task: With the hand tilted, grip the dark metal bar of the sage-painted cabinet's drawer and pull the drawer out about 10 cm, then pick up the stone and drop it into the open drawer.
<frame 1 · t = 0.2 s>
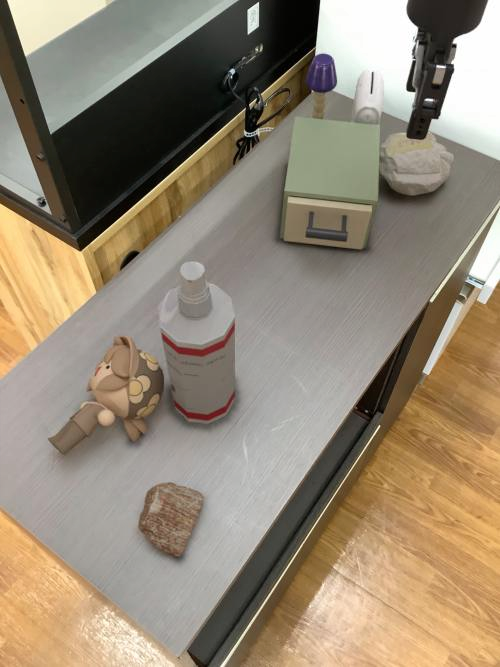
hand: (414, 113, 73), 23 cm above the cabinet top, tool pointing down, fingers open, 8 cm apart
spray bottle: (203, 396, 78), on the cabinet top
photo printer: (358, 148, 103), on the cabinet top
toy lamp: (312, 151, 103), on the cabinet top
fossil replica: (410, 183, 99), on the cabinet top
cabinet: (325, 205, 96), on the cabinet top
stone: (170, 522, 69), on the cabinet top
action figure: (112, 418, 76), on the cabinet top
drawer: (328, 200, 90), point 5 cm above the cabinet top, slide at 0.0 cm
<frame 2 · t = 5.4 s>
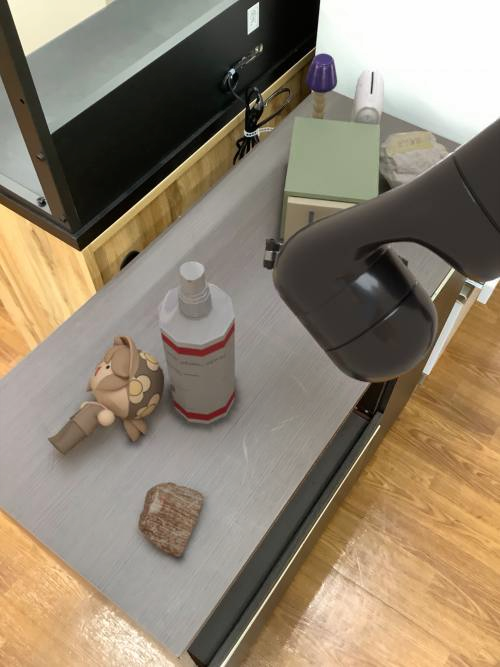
hand: (330, 256, 70), 16 cm above the cabinet top, tool tilted 45°, fingers open, 8 cm apart
nothing on the cabinet top moved.
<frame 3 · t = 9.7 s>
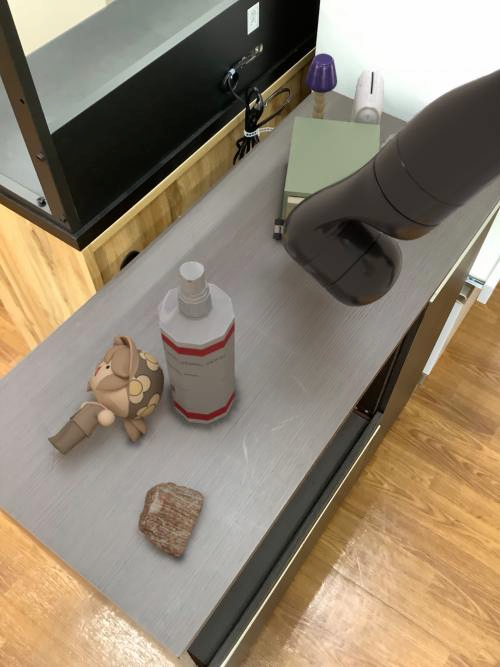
hand: (325, 231, 86), 5 cm above the cabinet top, tool tilted 45°, fingers closed on drawer, 5 cm apart
drawer: (328, 200, 90), point 5 cm above the cabinet top, slide at 0.0 cm, touching gripper
everything else where it was.
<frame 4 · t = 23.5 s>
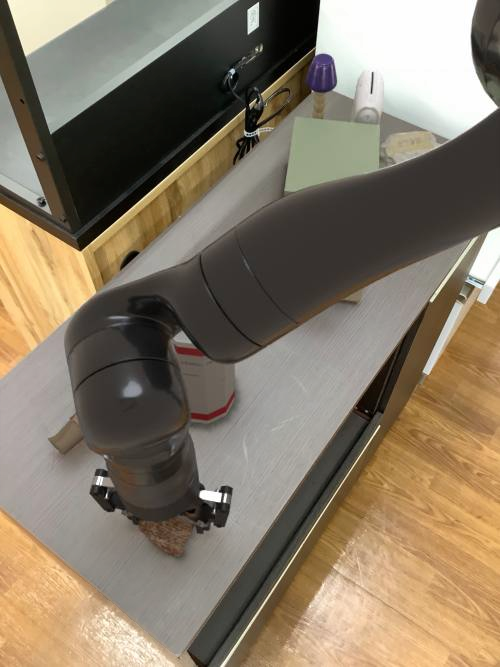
hand: (170, 520, 68), 1 cm above the cabinet top, tool pointing down, fingers closed on stone, 6 cm apart
stone: (170, 522, 69), on the cabinet top, touching gripper
drawer: (323, 250, 85), point 5 cm above the cabinet top, slide at 9.4 cm
everything else where it was.
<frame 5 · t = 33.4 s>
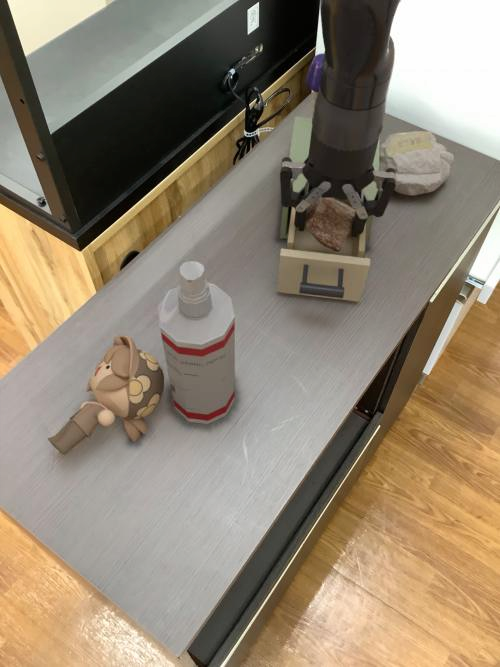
hand: (327, 229, 82), 8 cm above the cabinet top, tool pointing down, fingers closed on stone, 6 cm apart
stone: (326, 233, 83), point 7 cm above the cabinet top, touching gripper
drawer: (323, 250, 85), point 5 cm above the cabinet top, slide at 9.4 cm, touching gripper
everything else where it was.
when the fingers open (8 cm above the cabinet top, at t = 37.2 s): stone drops 6 cm, resting on drawer.
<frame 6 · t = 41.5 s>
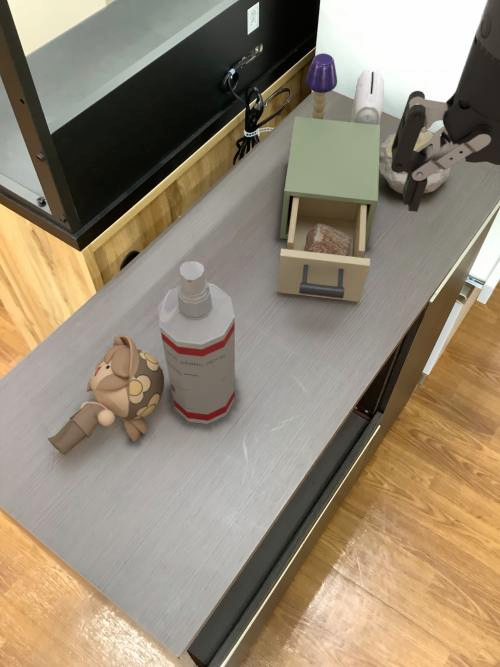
hand: (461, 209, 54), 30 cm above the cabinet top, tool pointing down, fingers open, 8 cm apart
stone: (324, 260, 88), point 2 cm above the cabinet top, touching drawer
drawer: (323, 250, 85), point 5 cm above the cabinet top, slide at 9.4 cm, touching stone
everything else where it was.
at the end: drawer slide at 9.4 cm; stone inside the target area in the drawer (0.3 cm from its centre), point 1.8 cm above the cabinet's base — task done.
